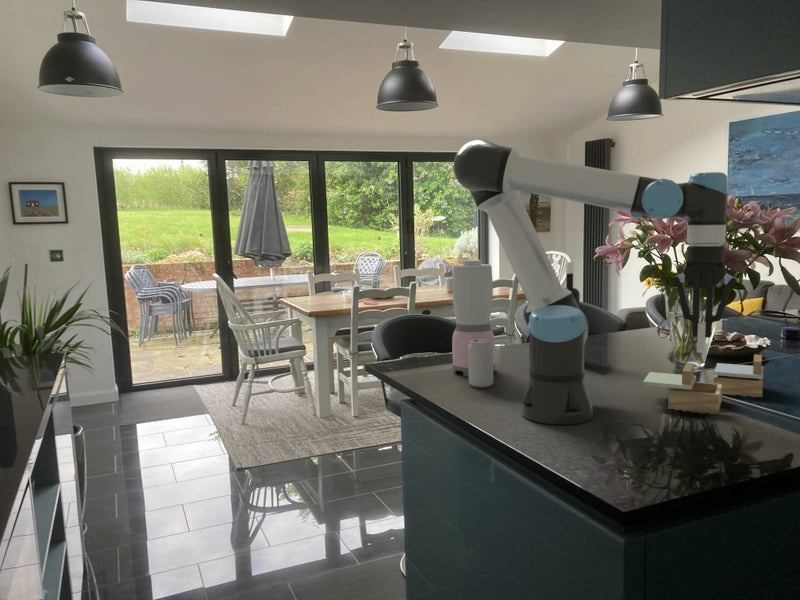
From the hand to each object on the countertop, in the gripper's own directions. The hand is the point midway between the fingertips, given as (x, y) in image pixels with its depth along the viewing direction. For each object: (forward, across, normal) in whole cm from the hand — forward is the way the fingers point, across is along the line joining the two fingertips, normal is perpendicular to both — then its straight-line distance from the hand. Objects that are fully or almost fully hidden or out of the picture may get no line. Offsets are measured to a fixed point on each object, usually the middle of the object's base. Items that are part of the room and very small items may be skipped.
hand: (701, 351), depth 140 cm
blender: (+14, +61, -13) cm, 64 cm away
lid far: (+7, -7, -16) cm, 19 cm away
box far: (+12, -7, -16) cm, 22 cm away
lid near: (+8, +6, 0) cm, 10 cm away
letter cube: (+12, -7, -16) cm, 21 cm away
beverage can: (+14, +52, +2) cm, 53 cm away
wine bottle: (+13, +39, -36) cm, 55 cm away
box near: (+13, +1, 0) cm, 13 cm away
